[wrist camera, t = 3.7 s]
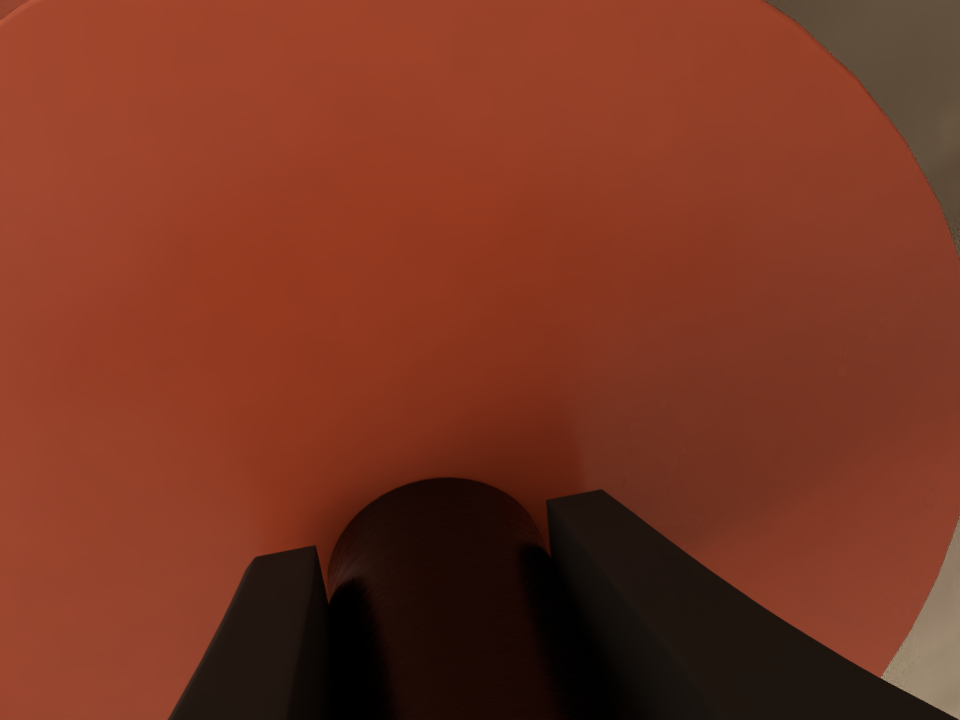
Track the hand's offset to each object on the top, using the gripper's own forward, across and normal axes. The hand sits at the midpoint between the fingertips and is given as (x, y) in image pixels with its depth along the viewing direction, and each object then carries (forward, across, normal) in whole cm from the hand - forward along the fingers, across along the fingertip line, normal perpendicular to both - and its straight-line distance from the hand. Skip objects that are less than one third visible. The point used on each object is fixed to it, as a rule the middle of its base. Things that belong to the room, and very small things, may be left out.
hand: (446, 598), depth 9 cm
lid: (+1, 0, 0) cm, 1 cm away
